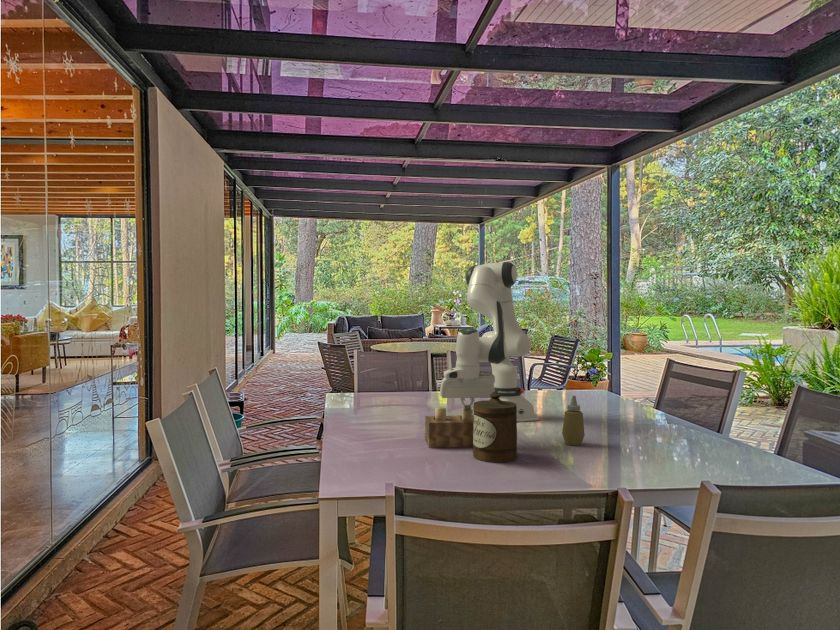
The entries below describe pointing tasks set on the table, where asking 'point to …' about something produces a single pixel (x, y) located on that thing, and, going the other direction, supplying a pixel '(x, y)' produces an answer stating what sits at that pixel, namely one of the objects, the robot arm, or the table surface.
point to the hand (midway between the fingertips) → (467, 409)
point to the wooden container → (495, 430)
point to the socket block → (449, 432)
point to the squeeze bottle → (573, 424)
